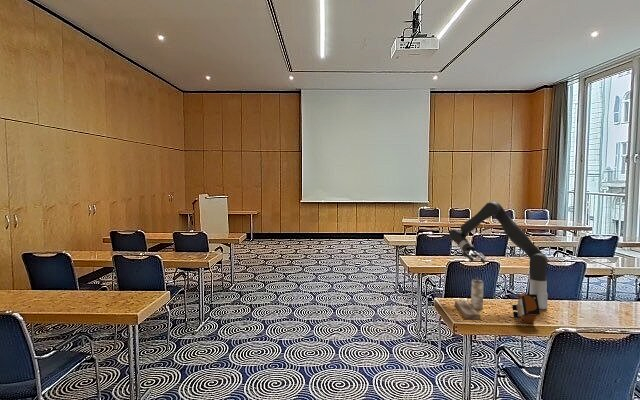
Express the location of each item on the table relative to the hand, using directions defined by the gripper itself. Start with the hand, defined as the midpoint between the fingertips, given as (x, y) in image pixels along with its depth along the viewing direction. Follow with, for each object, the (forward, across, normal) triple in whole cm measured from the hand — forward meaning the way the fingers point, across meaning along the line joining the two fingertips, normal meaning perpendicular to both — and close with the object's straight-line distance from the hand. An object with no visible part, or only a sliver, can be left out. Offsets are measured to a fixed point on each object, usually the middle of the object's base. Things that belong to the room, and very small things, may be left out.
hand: (478, 261), depth 268 cm
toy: (+44, +10, +10) cm, 46 cm away
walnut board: (+24, -11, +22) cm, 34 cm away
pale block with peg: (+17, 0, +23) cm, 29 cm away
